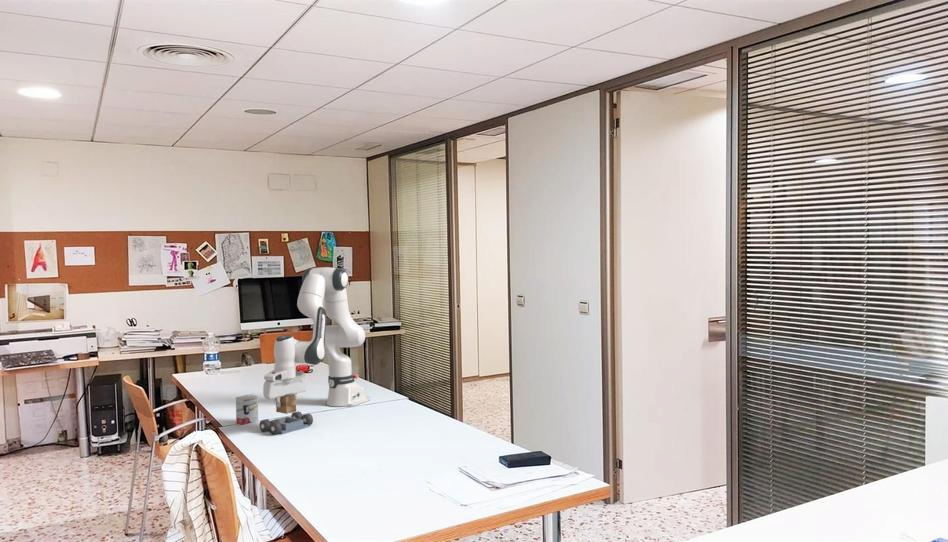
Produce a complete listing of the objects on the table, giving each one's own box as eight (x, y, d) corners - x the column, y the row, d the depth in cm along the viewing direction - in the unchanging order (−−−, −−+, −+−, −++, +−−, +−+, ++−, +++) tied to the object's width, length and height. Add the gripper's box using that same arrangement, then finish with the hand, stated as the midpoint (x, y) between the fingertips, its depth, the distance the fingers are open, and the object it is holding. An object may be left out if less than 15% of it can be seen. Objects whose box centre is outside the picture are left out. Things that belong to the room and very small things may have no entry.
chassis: (296, 421, 302) (295, 410, 302) (313, 425, 295) (313, 414, 295) (258, 431, 287) (258, 419, 287) (276, 435, 280) (276, 423, 280)
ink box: (242, 425, 298) (241, 398, 298) (235, 423, 301) (235, 397, 301) (259, 421, 305) (258, 395, 305) (252, 419, 308) (251, 393, 308)
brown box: (285, 409, 295) (285, 391, 295) (296, 411, 291) (295, 393, 290) (276, 411, 291) (275, 393, 291) (286, 413, 287) (286, 395, 286)
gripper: (300, 369, 300) (300, 400, 301) (260, 376, 284) (261, 409, 285) (309, 370, 297) (310, 401, 297) (269, 378, 280) (270, 411, 281)
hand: (286, 405), depth 291 cm, fingers closed on brown box, 5 cm apart
